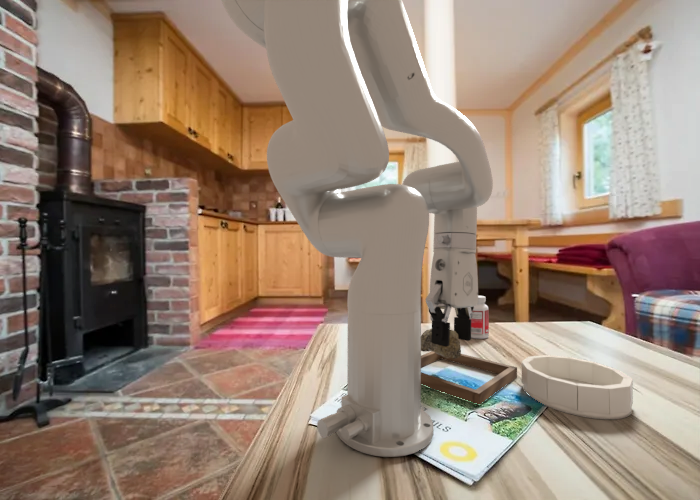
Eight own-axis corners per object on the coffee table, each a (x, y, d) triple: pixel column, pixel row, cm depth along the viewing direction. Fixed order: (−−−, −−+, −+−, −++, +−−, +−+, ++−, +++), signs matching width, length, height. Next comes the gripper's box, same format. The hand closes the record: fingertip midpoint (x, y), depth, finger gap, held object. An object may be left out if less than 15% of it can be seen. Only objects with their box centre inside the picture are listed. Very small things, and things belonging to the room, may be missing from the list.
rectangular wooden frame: (479, 405, 47) (479, 393, 47) (394, 375, 59) (394, 366, 59) (517, 377, 58) (517, 367, 58) (439, 356, 70) (439, 348, 70)
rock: (474, 356, 57) (475, 331, 57) (442, 360, 53) (443, 333, 54) (444, 347, 63) (445, 324, 64) (414, 350, 59) (415, 326, 60)
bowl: (626, 431, 41) (625, 397, 41) (510, 395, 51) (510, 368, 51) (636, 397, 50) (635, 370, 50) (537, 373, 60) (537, 350, 60)
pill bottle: (479, 333, 91) (479, 294, 91) (493, 338, 85) (493, 297, 85) (460, 334, 90) (460, 295, 90) (473, 339, 84) (473, 298, 84)
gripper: (449, 239, 50) (446, 353, 49) (494, 248, 62) (492, 340, 61) (410, 241, 55) (406, 343, 54) (458, 249, 67) (455, 333, 66)
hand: (451, 341), depth 57 cm, fingers closed on rock, 7 cm apart
